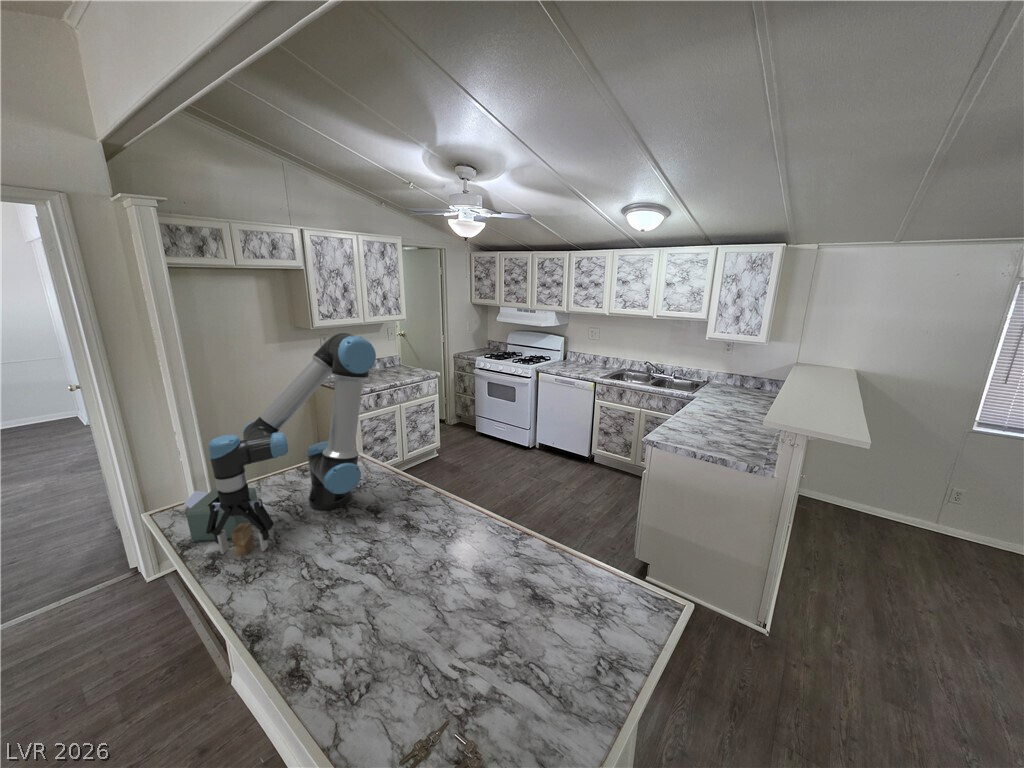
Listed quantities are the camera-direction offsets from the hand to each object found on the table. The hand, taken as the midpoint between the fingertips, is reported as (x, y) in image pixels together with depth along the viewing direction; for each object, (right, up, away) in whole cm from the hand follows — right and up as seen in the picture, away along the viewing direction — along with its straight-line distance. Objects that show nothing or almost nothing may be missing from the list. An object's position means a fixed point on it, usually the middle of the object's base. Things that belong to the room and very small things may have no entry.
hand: (245, 549), depth 125 cm
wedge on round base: (-28, +5, +22) cm, 35 cm away
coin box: (-13, +3, +11) cm, 18 cm away
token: (0, 0, 0) cm, 0 cm away
